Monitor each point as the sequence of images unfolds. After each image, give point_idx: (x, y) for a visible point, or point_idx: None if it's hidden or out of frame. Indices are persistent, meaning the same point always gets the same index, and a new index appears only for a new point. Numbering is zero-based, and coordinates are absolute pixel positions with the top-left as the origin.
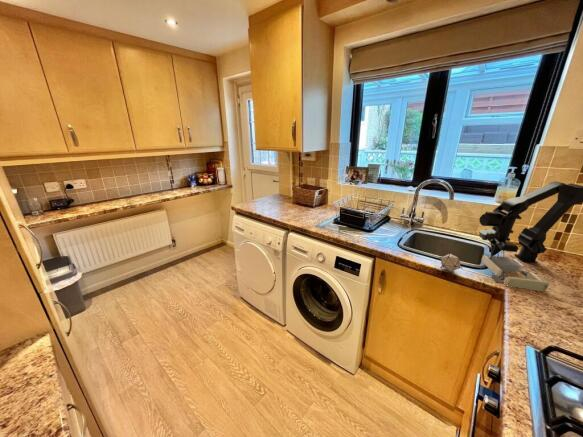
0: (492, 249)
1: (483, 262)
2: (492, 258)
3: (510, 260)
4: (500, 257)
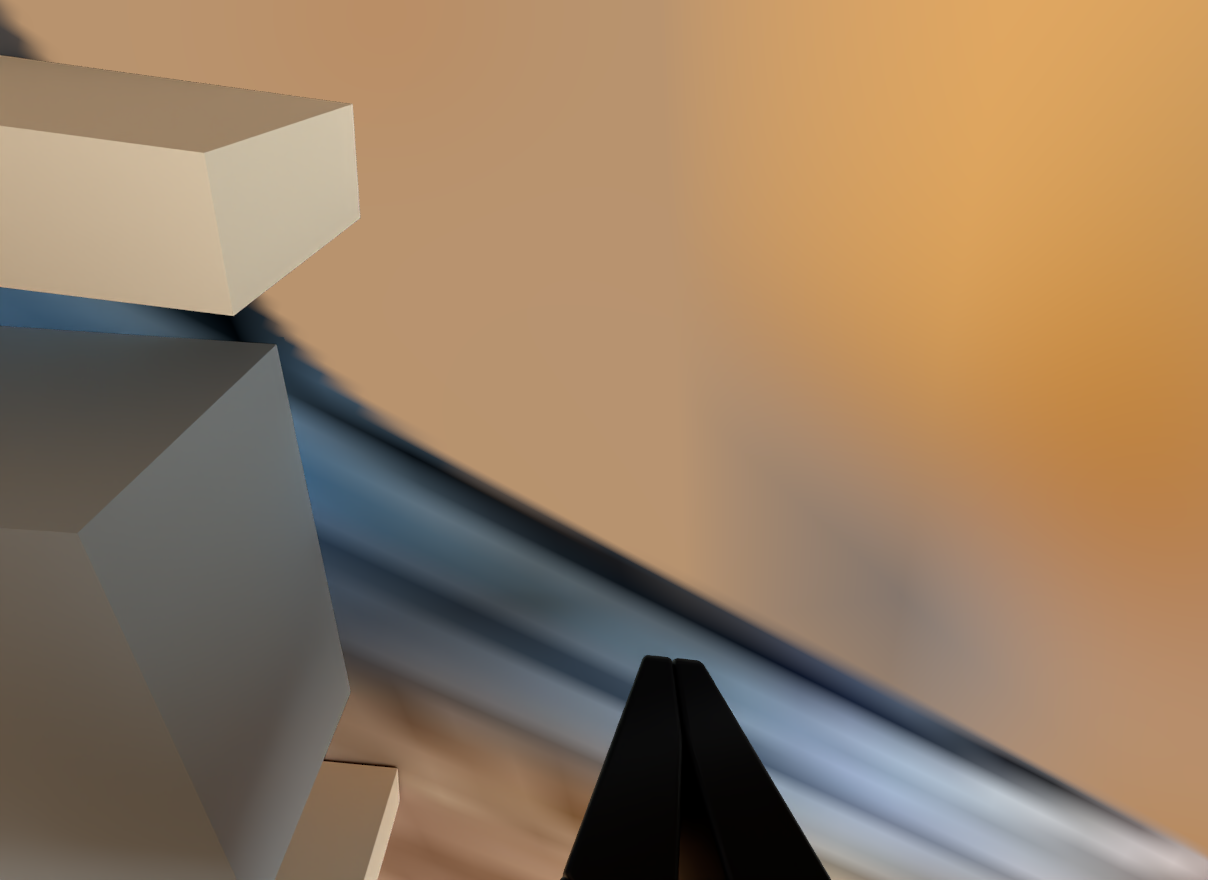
0: (715, 860)
1: (151, 77)
2: (69, 464)
3: (35, 877)
4: (124, 753)
